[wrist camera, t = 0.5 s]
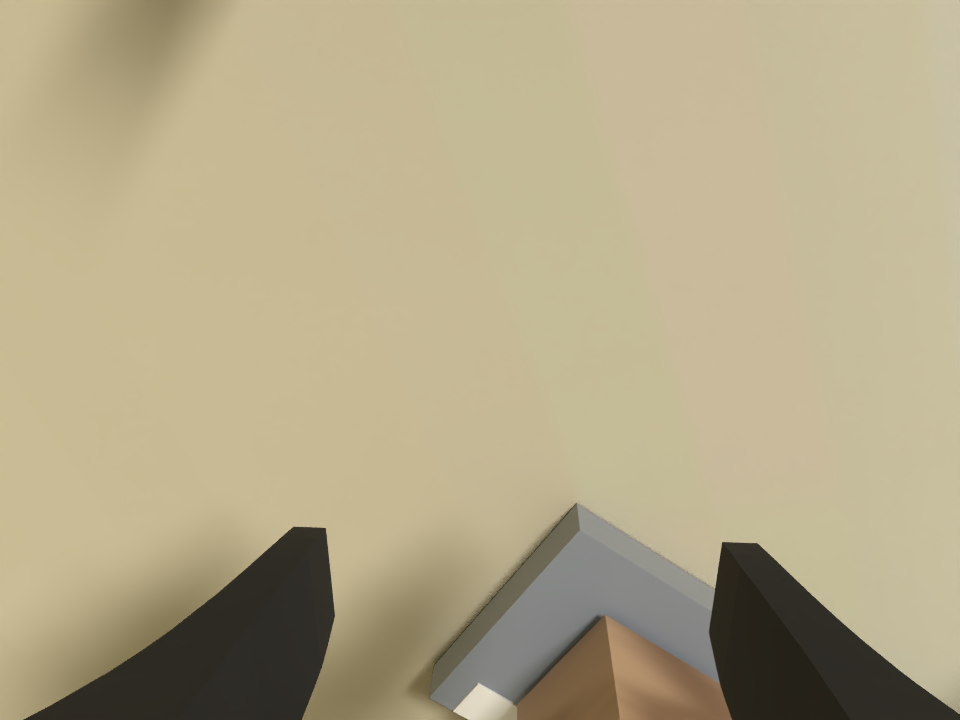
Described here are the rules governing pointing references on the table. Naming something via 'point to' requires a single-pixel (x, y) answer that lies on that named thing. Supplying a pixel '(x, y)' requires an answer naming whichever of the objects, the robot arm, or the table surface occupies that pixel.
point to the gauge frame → (571, 616)
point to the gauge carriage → (622, 683)
